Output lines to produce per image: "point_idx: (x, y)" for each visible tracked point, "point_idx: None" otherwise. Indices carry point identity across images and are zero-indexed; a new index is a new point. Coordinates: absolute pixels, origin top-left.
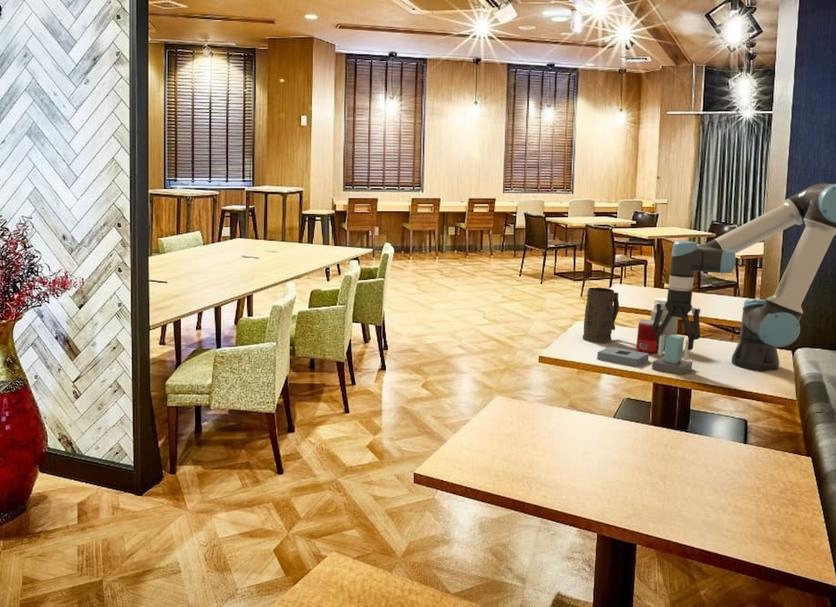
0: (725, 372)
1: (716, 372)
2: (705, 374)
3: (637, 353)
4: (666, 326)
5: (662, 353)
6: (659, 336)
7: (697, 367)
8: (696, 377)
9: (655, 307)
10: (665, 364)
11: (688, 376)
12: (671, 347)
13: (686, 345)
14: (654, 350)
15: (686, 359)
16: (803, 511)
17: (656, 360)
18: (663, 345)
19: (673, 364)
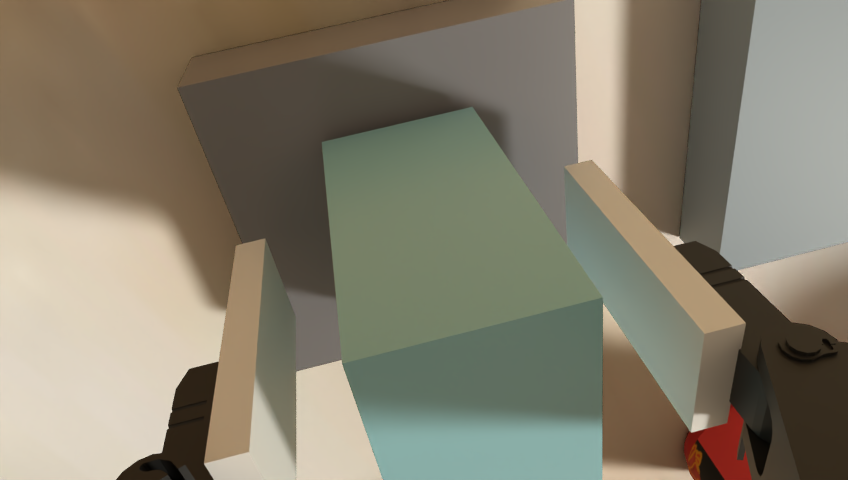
0: (84, 457)
1: (115, 405)
2: (101, 284)
3: (811, 187)
4: None
5: (569, 244)
6: (743, 331)
7: (304, 396)
8: (38, 105)
9: None
10: (407, 35)
11: (111, 63)
12: (432, 223)
13: (237, 381)
14: (712, 434)
15: (238, 256)
16: None
17: (564, 103)
18: (612, 312)
19: (338, 112)
